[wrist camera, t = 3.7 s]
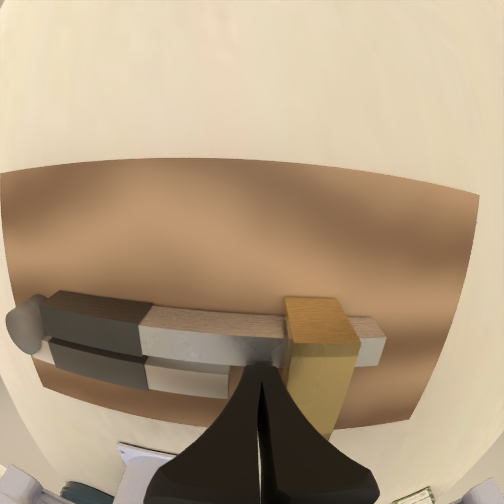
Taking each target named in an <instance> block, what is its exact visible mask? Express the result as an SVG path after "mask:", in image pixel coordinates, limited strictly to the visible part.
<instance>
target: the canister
mask: <svg viewBox="0 0 504 504" xmlns="http://www.w3.org/2000/svg"><path fill="white" fill-rule="evenodd" d="M60 497H62V498H64V499H66V500H68V501H71V502H73V503H75V504H113V501H114V498H113V497H111V496H109V495H107V494H105V493H103V492H101V491H98V490H96V489H93V488H91V487H88V486H86V485H83V484H79V483H75V482H68V483H67V484H66V486H64V487H63V488H62V491H61V492H60Z"/></svg>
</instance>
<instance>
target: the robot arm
mask: <svg viewBox="0 0 504 504" xmlns="http://www.w3.org/2000/svg"><path fill="white" fill-rule="evenodd" d="M257 427H258V436H257ZM258 438H259V448H260V458H261V498H260V484H259V466H258ZM116 448H117V450H118V452H119V454H120V456H121V458H122V460H123V462H124V464H125V466H126V469H125V472H124V474H123V477H122V480H121V482H120V485H119V488H118V490H117V493H116V496H115V498H114V501H113V504H374V503H375V502H376V500H377V499H378V497H379V496H380V491H379V488H378V485H377V482H376V480H375V478H374V476H373V474H372V472H371V471H370V470H369V469H367V468H365V467H364V466H362V465H360V464H358V463H357V462H355V461H353V460H352V459H350V458H349V457H347V456H346V455H345V454H343V453H342V452H340V451H339V450H338V449H337V448H336V447H334V446H333V445H332V444H331V443H330V442H329V441H327V440H326V439H325V438H324V437H323V436H322V435H321V434H320V433H319V432H318V431H317V430H316V429H315V428H314V427H313V425H312V424H311V423H310V422H309V421H308V420H307V418H306V417H305V416H304V415H303V413H302V412H301V410H300V409H299V408H298V406H297V405H296V403H295V402H294V400H293V398H292V397H291V395H290V394H289V392H288V390H287V388H286V386H285V385H284V383H283V381H282V378H281V376H280V374H279V371H278V368H277V367H276V366H256V365H246V366H245V367H244V369H243V373H242V376H241V379H240V381H239V383H238V385H237V387H236V389H235V391H234V393H233V395H232V397H231V398H230V400H229V401H228V403H227V404H226V406H225V407H224V409H223V410H222V412H221V413H220V415H219V416H218V417H217V418H216V420H215V421H214V422H213V423H212V424H211V426H210V427H209V428H208V429H207V430H206V431H205V432H204V433H203V434H202V435H201V436H200V437H199V438H198V439H197V440H196V441H195V442H194V443H192V444H191V445H190V446H189V447H187V448H186V449H185V450H184V451H183V452H181V453H180V454H179V455H177V456H176V455H170V454H165V453H160V452H155V451H150V450H146V449H142V448H137V447H133V446H130V445H126V444H122V443H118V444H117V445H116ZM0 504H75V503H73V502H71V501H68V500H66V499H64V498H62V497H60V496H58V495H56V494H54V493H52V492H50V491H48V490H46V489H44V488H43V487H42V486H41V484H40V483H39V482H38V481H37V480H36V479H35V478H33V477H32V476H31V475H29V474H27V473H26V472H24V471H22V470H21V469H19V468H18V467H16V466H14V465H13V464H10V466H9V467H8V469H7V470H6V472H5V474H4V475H3V477H2V478H1V480H0ZM450 504H504V497H503V495H502V493H501V491H500V489H499V487H498V485H497V484H496V482H495V480H494V478H493V477H491V478H489V479H487V480H486V481H484V482H482V483H480V484H479V485H477V486H475V487H473V488H472V489H470V490H469V491H468V492H467V493H466V494H465V495H464V496H463V497H462V498H460V499H458V500H456V501H454V502H452V503H450Z"/></svg>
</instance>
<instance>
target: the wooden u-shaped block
mask: <svg viewBox="0 0 504 504" xmlns="http://www.w3.org/2000/svg"><path fill="white" fill-rule="evenodd" d="M283 310H284V315H285V321H286V327H287V332H288V338H287V346H286V353H285V359H284V366H283V373H282V381H283V383H284V385H285V386H286V388H287V390H288V392H289V394H290V395H291V397H292V398H293V400H294V402H295V403H296V405H297V406H298V408H299V409H300V410H301V412H302V413H303V415H304V416H305V417H306V418H307V420H308V421H309V422H310V423H311V424H312V425H313V427H314V428H315V429H316V430H317V431H318V432H319V433H320V434H321V435H322V436H323V437H324V438H325V439H326V440H327V441H329V438H330V436H331V433H332V431H333V428H334V426H335V423H336V421H337V418H338V415H339V412H340V410H341V407H342V404H343V401H344V398H345V396H346V393H347V390H348V387H349V384H350V381H351V377H352V374H353V371H354V368H355V365H356V361H357V358H358V354H359V351H360V347H361V344H362V342H361V341H360V339H359V337H358V335H357V334H356V332H355V330H354V328H353V327H352V325H351V323H350V321H349V320H348V318H347V316H346V314H345V313H344V311H343V309H342V308H341V306H340V304H339V302H338V301H337V299H329V298H301V297H284V306H283Z"/></svg>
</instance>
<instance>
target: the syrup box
mask: <svg viewBox="0 0 504 504" xmlns="http://www.w3.org/2000/svg"><path fill="white" fill-rule="evenodd" d="M393 504H437V503H436V500H435V498H434V495H433V493H432V491H431V488H430V487H427V488H425V489H423V490H421V491H419V492H416V493H414V494H412V495H409V496H407V497H405V498H402V499H400V500H397V501H395V502H393Z"/></svg>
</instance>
